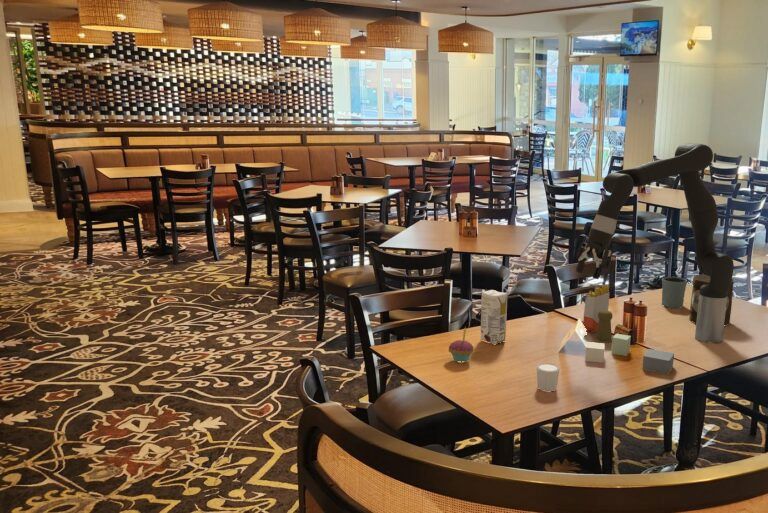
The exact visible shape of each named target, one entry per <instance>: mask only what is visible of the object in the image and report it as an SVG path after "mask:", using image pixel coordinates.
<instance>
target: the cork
mask: <svg viewBox="0 0 768 513" xmlns="http://www.w3.org/2000/svg"><path fill="white" fill-rule="evenodd" d="M598 318H599V323H598V328H597V332H596V334H595V338H594V339H595V340H596V341H599V342H603V343H608V342H612V338H613V335H612V319H613V313H612V312H611V311H610V310H608V311H605V310H603V311H600V312H599V313H598Z"/></svg>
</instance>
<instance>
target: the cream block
mask: <svg viewBox="0 0 768 513" xmlns="http://www.w3.org/2000/svg"><path fill="white" fill-rule="evenodd" d="M605 345H606V344H605V342H603V343H601V342H592V341H586V344H585V356H584V361H585V362H593V363H601V364H604V363H605V362H604V360H605V359H604V358H605Z"/></svg>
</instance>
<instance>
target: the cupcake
mask: <svg viewBox="0 0 768 513" xmlns="http://www.w3.org/2000/svg"><path fill="white" fill-rule="evenodd" d="M466 328H467V326H465V327H464V328H463V335H462V340H460V339H459V340H455V341H453V342H452V343H450V344H449V346H448V352H449V353H450V354H451V355H452V359H453V361H454V360H455V361H461V362H462V361H467V360H468V361H469V358H470V356H471V354H472V353H473V351H474V346H473V345H472V343H470V341H468V340H465V339H466V333H467V332H466V331H467V329H466ZM455 361H454V362H455ZM468 361H467V362H468Z"/></svg>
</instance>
